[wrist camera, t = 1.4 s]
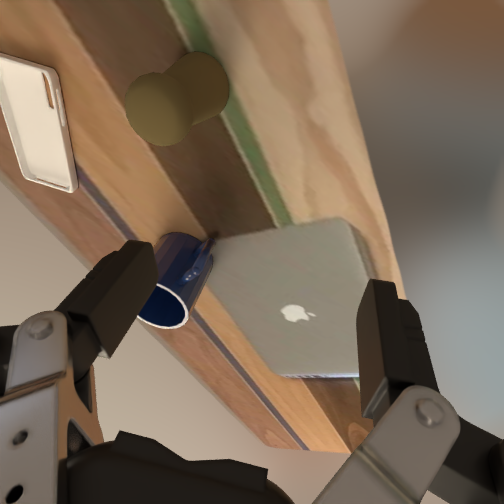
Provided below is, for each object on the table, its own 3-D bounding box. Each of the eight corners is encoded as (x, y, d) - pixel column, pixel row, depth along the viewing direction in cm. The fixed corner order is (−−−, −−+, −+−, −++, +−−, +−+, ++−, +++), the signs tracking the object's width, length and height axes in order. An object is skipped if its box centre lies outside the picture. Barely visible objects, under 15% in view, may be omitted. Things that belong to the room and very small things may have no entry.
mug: (189, 286, 50) (163, 336, 43) (146, 250, 47) (109, 297, 40) (242, 251, 43) (222, 303, 36) (194, 207, 40) (161, 254, 33)
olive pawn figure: (185, 36, 28) (122, 49, 20) (240, 77, 30) (201, 106, 21) (164, 95, 32) (103, 127, 24) (213, 130, 33) (171, 171, 25)
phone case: (-6, 50, 33) (30, 174, 43) (-17, 51, 32) (22, 178, 42) (58, 69, 33) (79, 189, 43) (48, 71, 32) (73, 194, 42)
